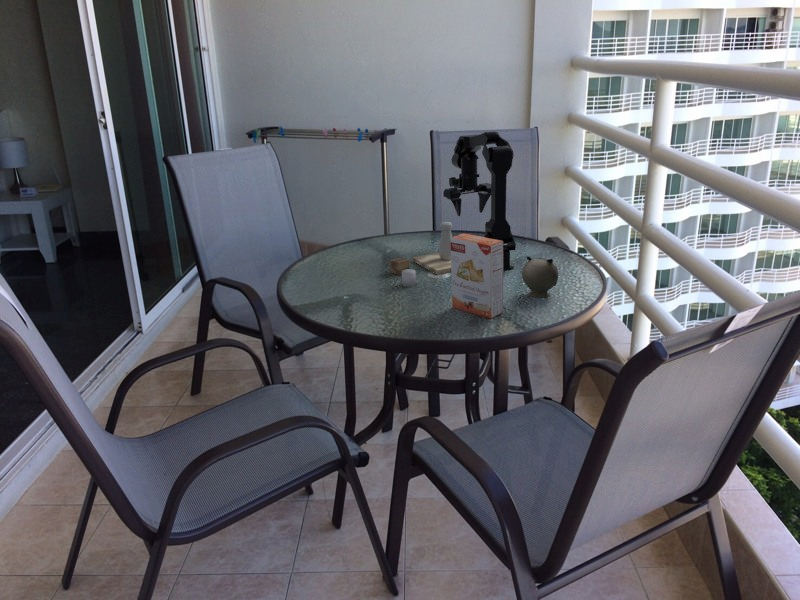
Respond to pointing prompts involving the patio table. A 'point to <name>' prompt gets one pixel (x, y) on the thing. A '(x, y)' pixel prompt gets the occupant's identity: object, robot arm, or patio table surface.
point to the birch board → (433, 263)
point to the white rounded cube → (409, 277)
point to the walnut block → (399, 265)
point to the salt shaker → (445, 241)
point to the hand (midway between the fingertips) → (469, 214)
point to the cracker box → (477, 274)
